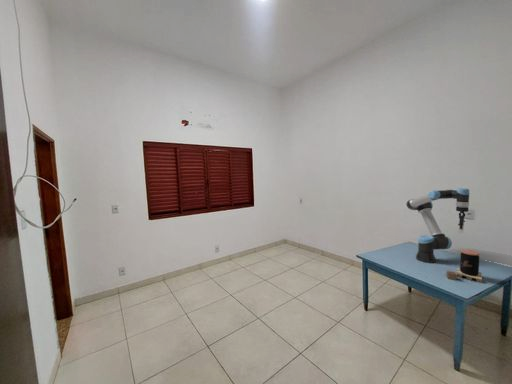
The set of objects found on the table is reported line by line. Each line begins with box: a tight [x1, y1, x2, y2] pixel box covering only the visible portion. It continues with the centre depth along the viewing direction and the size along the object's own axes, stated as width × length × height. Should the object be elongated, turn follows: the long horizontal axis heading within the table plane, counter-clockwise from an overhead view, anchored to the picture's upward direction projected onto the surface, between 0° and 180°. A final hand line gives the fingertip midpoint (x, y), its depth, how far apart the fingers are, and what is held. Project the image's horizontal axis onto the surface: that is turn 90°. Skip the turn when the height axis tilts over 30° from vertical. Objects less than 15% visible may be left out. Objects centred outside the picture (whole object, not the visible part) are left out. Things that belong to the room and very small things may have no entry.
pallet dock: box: [456, 267, 483, 284], centre depth 170 cm, size 14×14×3 cm
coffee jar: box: [459, 249, 481, 276], centre depth 169 cm, size 11×11×18 cm
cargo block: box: [445, 270, 458, 281], centre depth 169 cm, size 5×5×5 cm
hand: (461, 230), depth 180 cm, fingers open, 13 cm apart
